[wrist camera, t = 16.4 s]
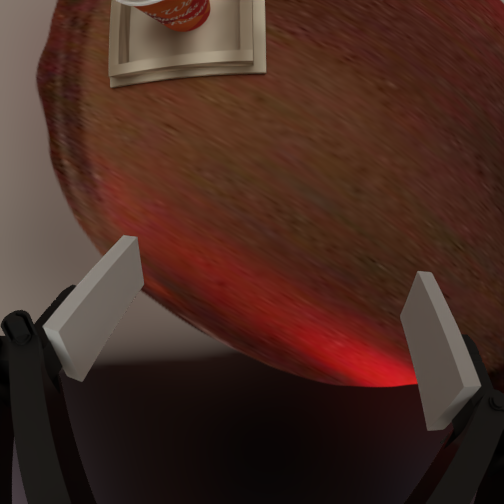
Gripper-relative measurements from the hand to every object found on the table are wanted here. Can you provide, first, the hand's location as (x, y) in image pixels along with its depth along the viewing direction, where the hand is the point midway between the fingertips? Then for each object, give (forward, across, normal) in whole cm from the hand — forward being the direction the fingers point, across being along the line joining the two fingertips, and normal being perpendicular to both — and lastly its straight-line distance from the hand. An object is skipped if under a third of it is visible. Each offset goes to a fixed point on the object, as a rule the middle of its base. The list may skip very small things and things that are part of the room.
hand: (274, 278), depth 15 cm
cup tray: (+25, -13, +17) cm, 33 cm away
